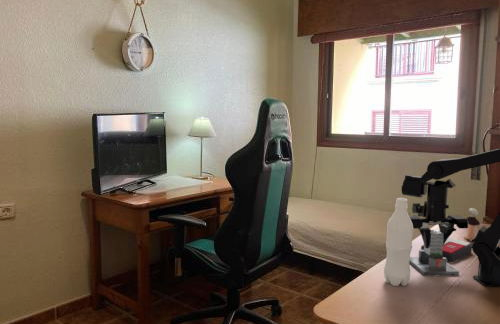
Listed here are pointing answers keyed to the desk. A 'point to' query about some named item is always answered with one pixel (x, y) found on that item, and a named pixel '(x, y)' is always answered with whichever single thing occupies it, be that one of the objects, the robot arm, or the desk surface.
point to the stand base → (432, 264)
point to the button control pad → (455, 249)
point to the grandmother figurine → (472, 224)
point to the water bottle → (398, 245)
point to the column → (435, 243)
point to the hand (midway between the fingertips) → (433, 247)
